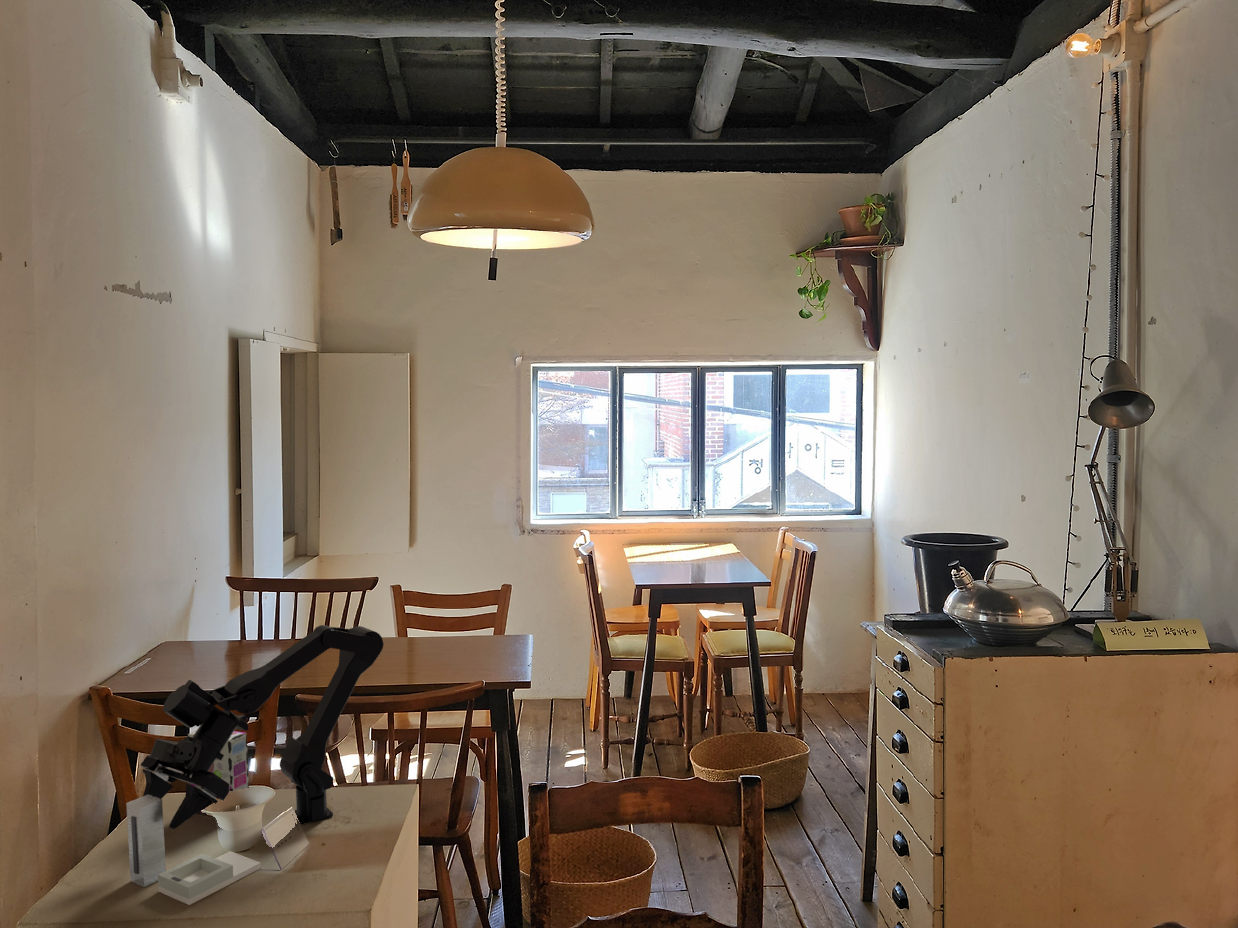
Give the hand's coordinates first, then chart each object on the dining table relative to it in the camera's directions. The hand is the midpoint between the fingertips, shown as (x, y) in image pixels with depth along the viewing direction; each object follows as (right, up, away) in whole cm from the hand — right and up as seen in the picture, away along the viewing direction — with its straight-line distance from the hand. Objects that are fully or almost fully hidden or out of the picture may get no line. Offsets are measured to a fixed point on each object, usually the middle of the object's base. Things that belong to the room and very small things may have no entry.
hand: (155, 821), depth 165 cm
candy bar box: (+1, -8, +25) cm, 26 cm away
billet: (-1, -10, -1) cm, 10 cm away
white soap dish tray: (+10, -9, -1) cm, 14 cm away
